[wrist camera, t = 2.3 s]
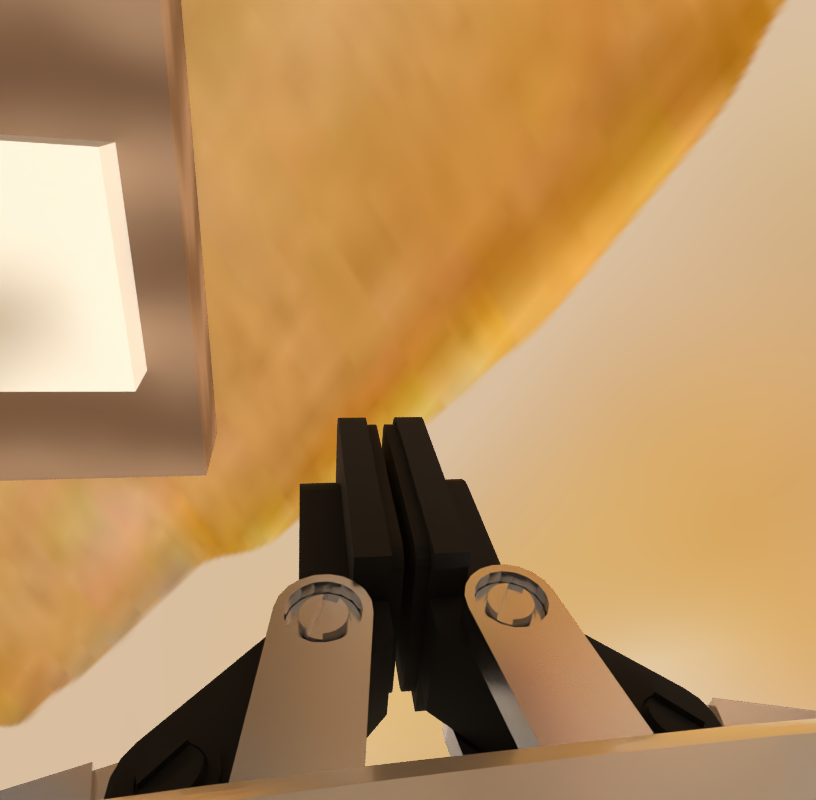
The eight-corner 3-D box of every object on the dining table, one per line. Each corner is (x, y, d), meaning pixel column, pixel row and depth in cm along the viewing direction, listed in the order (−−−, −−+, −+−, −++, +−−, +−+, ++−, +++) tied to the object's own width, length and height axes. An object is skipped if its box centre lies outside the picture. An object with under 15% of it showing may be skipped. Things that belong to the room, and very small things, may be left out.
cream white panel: (-74, 129, 20) (-110, 133, 18) (115, 141, 21) (98, 147, 19) (-9, 369, 24) (-33, 391, 22) (147, 370, 25) (135, 391, 23)
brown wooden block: (-121, -54, 21) (-208, -83, 17) (179, -21, 22) (155, -40, 19) (11, 435, 30) (-28, 481, 26) (217, 432, 31) (206, 475, 28)
